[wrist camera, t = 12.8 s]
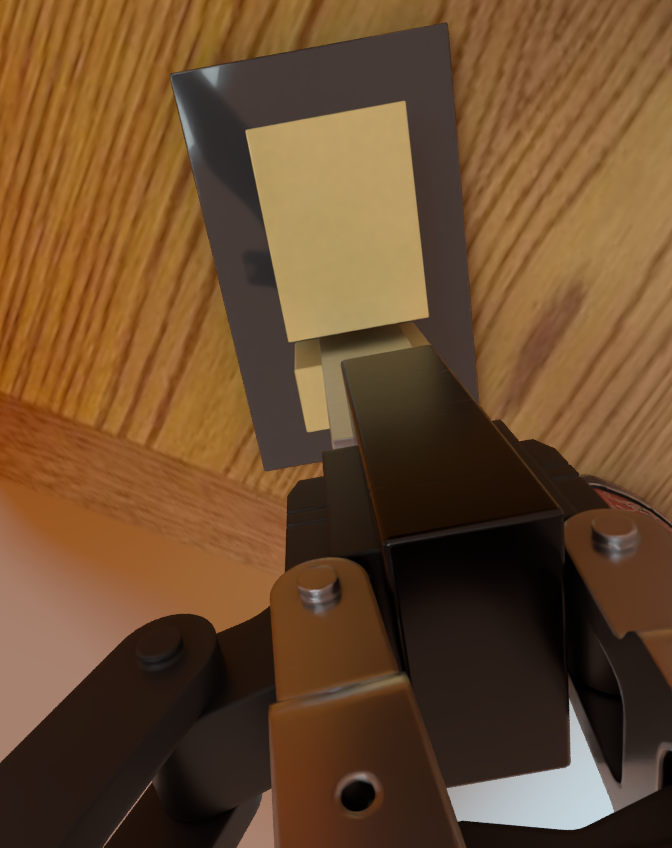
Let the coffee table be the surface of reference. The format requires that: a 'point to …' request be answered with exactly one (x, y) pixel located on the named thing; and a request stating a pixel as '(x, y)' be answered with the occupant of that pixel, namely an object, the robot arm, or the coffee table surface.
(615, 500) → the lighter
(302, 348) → the butter pat
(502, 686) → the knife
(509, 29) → the coffee table surface
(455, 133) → the butter board
